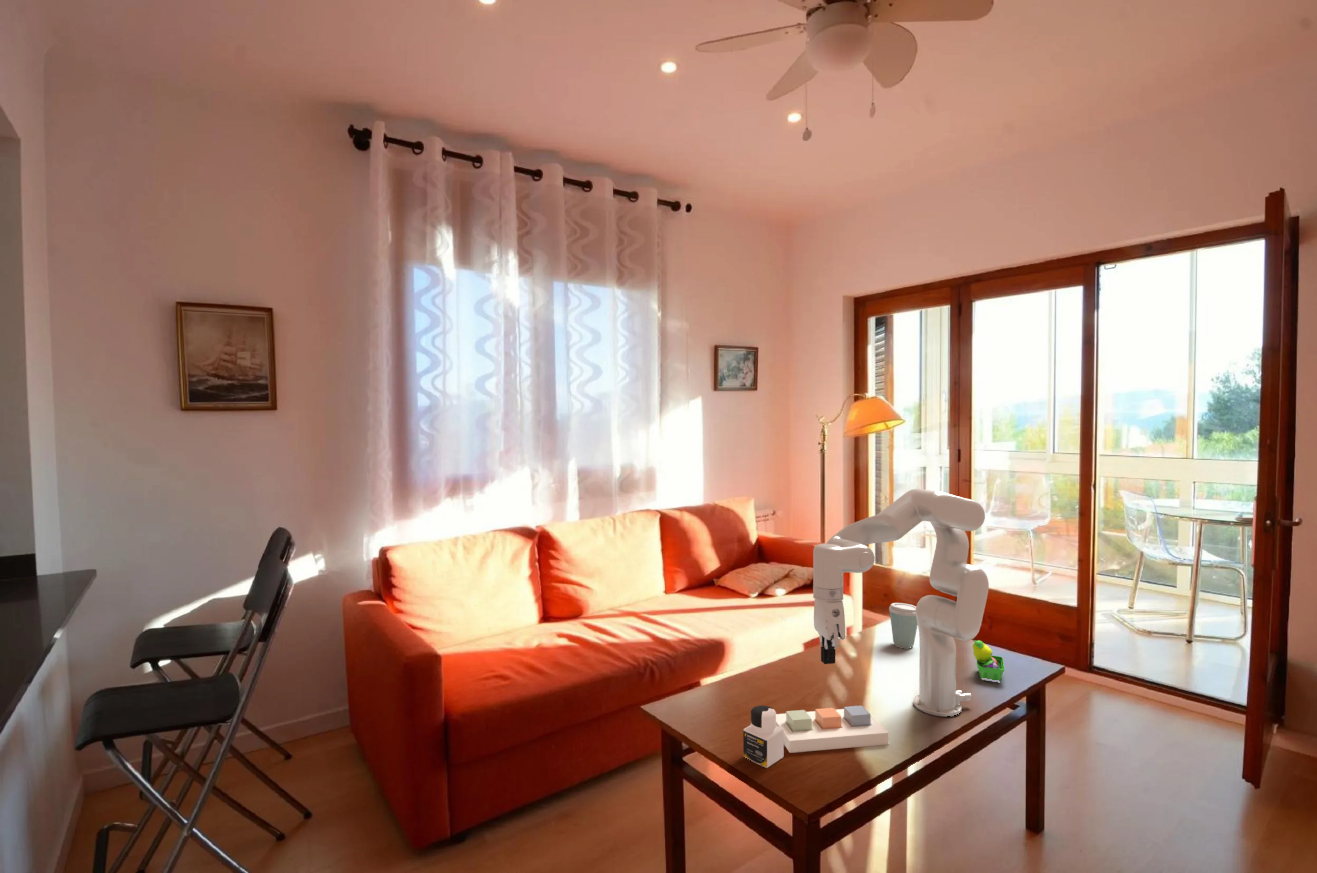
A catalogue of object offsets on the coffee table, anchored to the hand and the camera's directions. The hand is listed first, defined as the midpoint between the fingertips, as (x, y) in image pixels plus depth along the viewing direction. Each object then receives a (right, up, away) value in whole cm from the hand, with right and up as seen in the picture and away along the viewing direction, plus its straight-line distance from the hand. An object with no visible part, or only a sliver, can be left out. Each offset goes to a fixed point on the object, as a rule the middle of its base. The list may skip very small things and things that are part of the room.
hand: (828, 662), depth 164 cm
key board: (0, -19, +1) cm, 19 cm away
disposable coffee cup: (+45, -17, +64) cm, 79 cm away
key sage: (-8, -17, -1) cm, 19 cm away
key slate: (+8, -17, +2) cm, 19 cm away
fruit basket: (+61, -18, +37) cm, 73 cm away
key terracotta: (0, -17, 0) cm, 17 cm away
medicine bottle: (-19, -20, -10) cm, 29 cm away
